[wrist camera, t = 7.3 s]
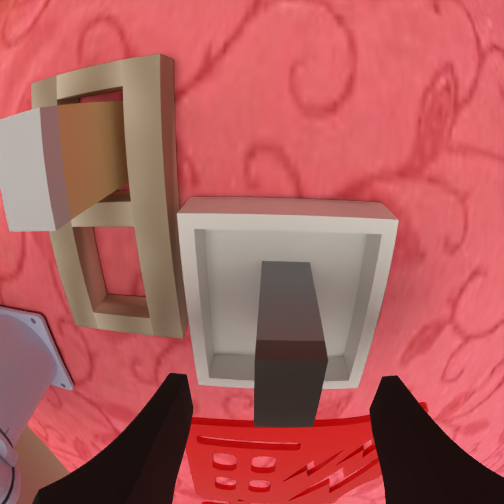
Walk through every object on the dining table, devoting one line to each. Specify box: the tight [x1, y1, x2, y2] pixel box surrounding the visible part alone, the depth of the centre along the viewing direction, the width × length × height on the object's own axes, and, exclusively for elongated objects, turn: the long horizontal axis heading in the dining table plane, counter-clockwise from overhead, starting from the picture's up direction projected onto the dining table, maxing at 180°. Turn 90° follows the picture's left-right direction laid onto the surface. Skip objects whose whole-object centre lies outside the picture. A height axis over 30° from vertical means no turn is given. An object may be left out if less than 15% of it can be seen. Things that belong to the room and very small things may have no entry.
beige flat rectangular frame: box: [31, 54, 189, 338], centre depth 15 cm, size 7×14×2 cm, turn 0°
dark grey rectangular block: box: [254, 261, 328, 427], centre depth 14 cm, size 2×4×7 cm, turn 0°
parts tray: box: [177, 197, 399, 389], centre depth 16 cm, size 9×10×2 cm
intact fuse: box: [0, 101, 129, 231], centre depth 11 cm, size 2×4×7 cm, turn 0°
